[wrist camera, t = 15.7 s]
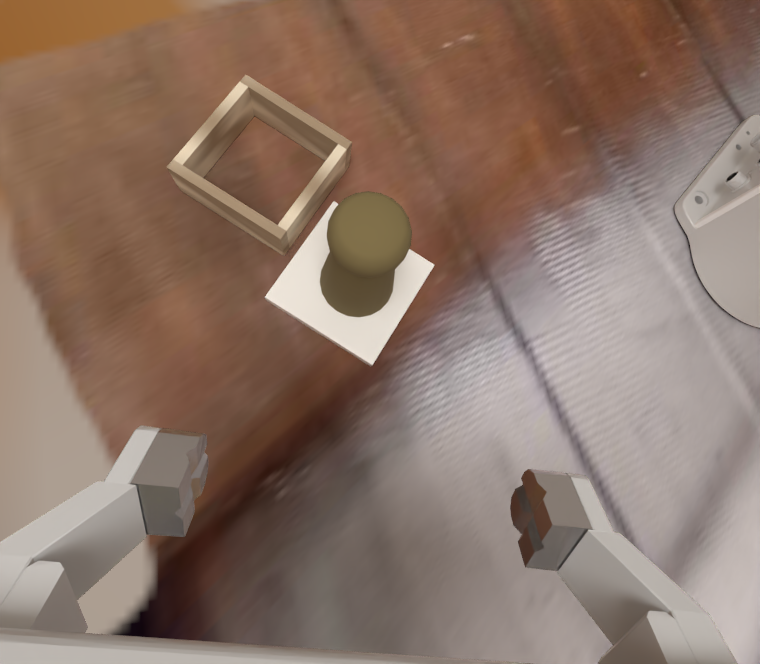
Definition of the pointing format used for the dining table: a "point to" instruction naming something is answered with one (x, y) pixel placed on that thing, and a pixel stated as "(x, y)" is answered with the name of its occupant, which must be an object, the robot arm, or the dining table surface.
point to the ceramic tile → (308, 306)
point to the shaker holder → (221, 134)
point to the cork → (364, 253)
